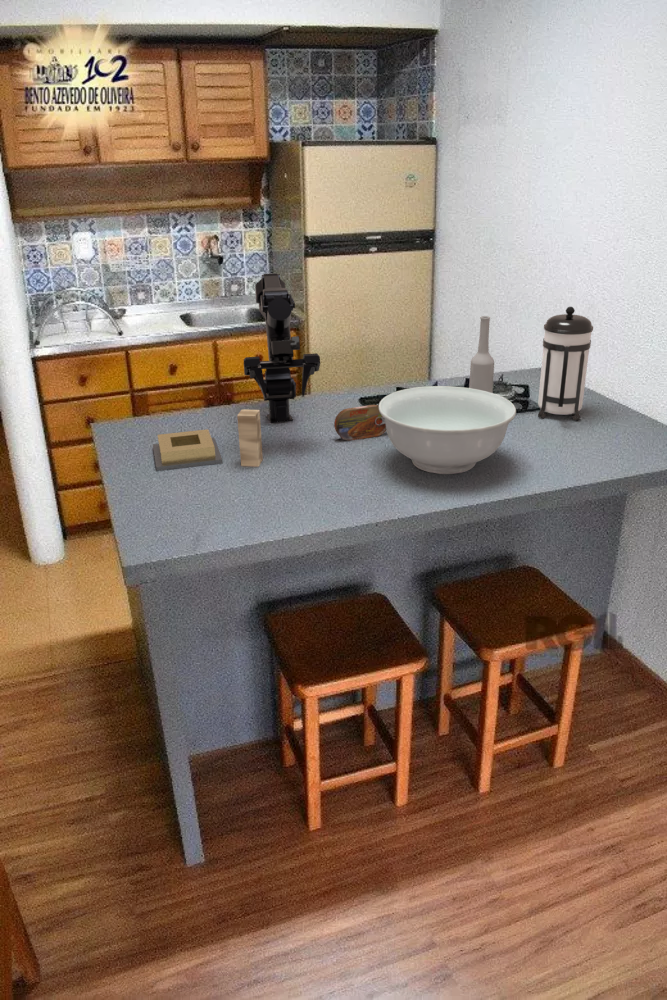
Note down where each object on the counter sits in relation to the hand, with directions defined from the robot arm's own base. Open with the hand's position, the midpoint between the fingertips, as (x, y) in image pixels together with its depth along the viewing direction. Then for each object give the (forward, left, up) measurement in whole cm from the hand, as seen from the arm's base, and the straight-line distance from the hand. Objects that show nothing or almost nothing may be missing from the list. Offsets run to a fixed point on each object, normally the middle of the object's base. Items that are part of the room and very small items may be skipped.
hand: (284, 397), depth 191 cm
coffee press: (-4, +79, -15) cm, 81 cm away
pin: (+4, -10, -15) cm, 18 cm away
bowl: (+18, +35, -15) cm, 42 cm away
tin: (-5, +21, -15) cm, 27 cm away
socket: (-6, -25, -15) cm, 29 cm away
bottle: (-10, +57, -15) cm, 60 cm away
